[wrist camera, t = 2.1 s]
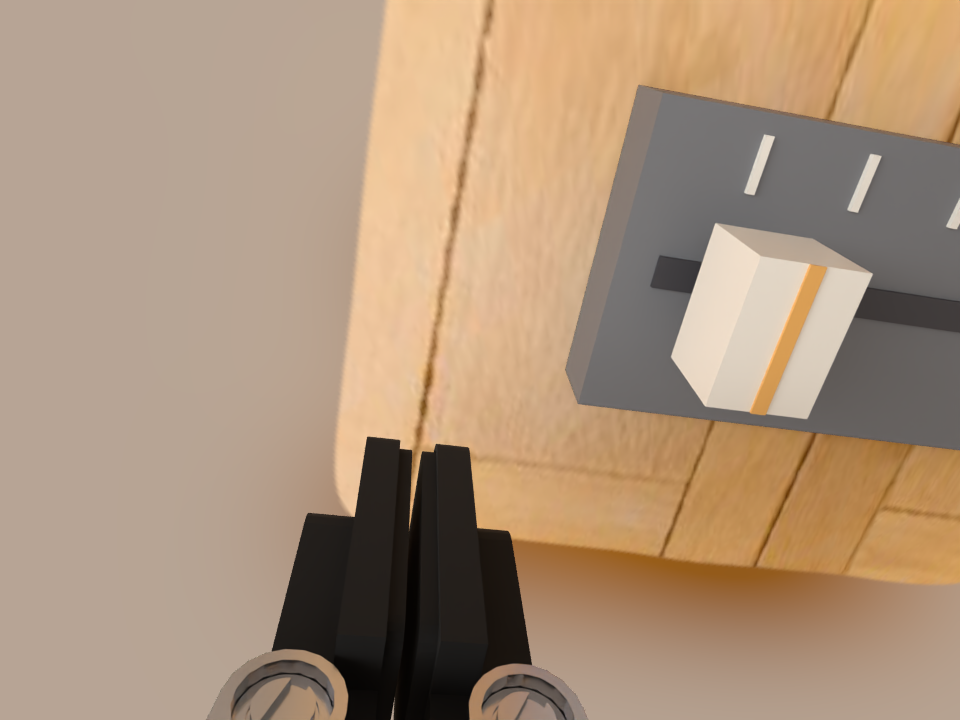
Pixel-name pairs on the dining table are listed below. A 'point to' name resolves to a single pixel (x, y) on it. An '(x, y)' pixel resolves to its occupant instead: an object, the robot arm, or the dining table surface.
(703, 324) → the fader
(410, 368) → the dining table surface
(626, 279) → the console
